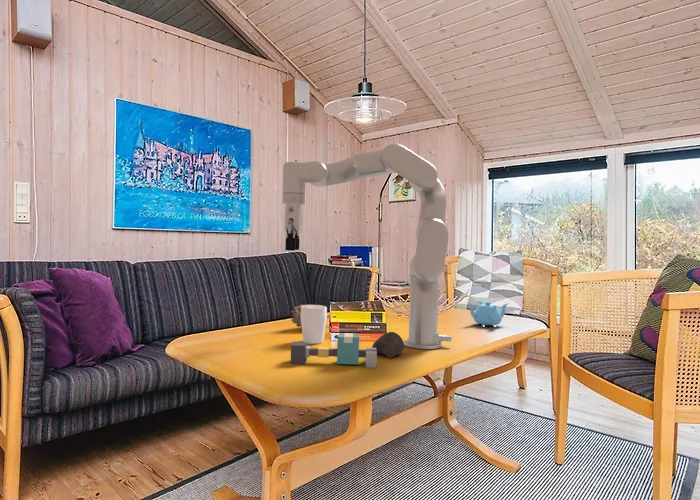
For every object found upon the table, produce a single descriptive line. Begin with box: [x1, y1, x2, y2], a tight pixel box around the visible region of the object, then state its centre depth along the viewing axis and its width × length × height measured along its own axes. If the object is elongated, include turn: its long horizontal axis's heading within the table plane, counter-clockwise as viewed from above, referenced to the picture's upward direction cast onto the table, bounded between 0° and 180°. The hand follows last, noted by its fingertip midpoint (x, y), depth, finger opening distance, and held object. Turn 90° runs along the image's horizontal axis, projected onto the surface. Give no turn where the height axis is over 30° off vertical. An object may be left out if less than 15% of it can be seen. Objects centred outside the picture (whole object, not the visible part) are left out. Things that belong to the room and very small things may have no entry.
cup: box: [300, 304, 328, 345], centre depth 160 cm, size 9×9×12 cm
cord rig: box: [290, 341, 378, 369], centre depth 133 cm, size 24×7×5 cm, turn 88°
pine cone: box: [290, 303, 331, 329], centre depth 184 cm, size 22×10×10 cm, turn 136°
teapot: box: [468, 299, 509, 326], centre depth 198 cm, size 13×13×10 cm
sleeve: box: [336, 332, 360, 365], centre depth 133 cm, size 6×5×8 cm
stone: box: [371, 331, 406, 359], centre depth 144 cm, size 10×8×10 cm
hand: (292, 250), depth 159 cm, fingers open, 9 cm apart
